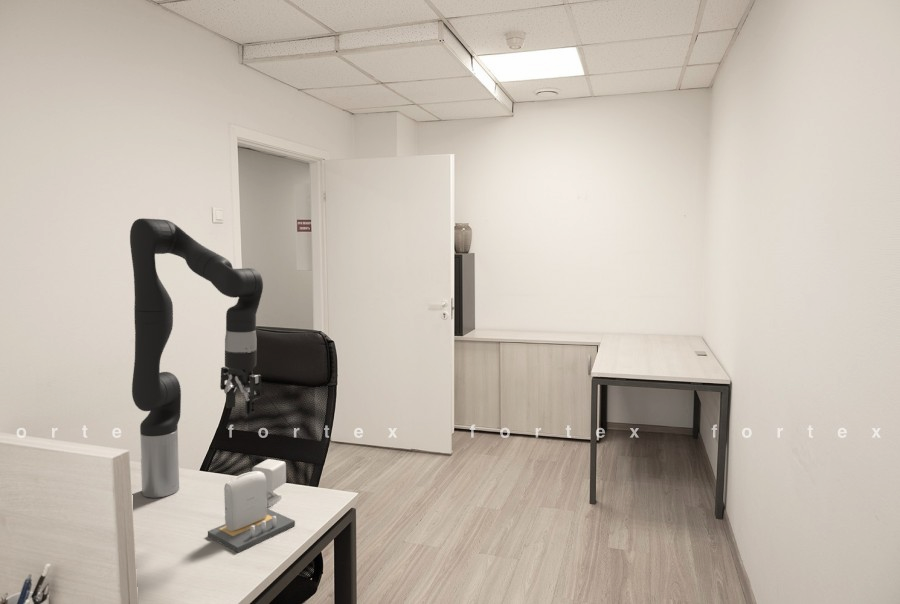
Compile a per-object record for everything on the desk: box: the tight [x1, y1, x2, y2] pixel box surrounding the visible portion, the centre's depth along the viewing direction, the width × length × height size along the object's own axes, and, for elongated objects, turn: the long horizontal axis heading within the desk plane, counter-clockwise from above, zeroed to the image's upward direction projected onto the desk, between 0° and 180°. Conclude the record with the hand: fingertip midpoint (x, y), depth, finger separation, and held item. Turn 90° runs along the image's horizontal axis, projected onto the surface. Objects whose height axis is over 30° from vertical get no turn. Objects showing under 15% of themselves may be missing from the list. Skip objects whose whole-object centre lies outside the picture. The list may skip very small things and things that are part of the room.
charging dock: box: [207, 508, 296, 553], centre depth 140 cm, size 12×16×4 cm
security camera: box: [251, 458, 287, 508], centre depth 157 cm, size 6×7×10 cm
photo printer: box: [223, 471, 268, 531], centre depth 141 cm, size 10×4×12 cm, turn 141°
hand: (240, 411), depth 146 cm, fingers open, 8 cm apart
